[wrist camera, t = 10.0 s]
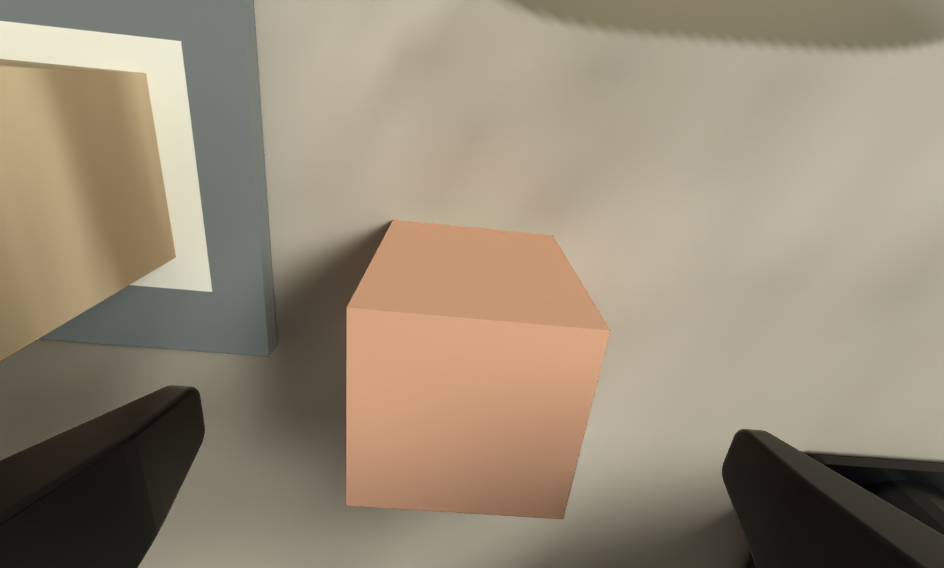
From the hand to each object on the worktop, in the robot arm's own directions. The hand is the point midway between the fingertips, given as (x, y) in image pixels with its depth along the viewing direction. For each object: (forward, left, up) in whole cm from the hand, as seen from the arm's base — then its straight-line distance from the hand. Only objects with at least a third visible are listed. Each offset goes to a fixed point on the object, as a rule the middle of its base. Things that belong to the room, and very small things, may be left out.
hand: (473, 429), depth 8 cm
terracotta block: (0, 0, -5) cm, 5 cm away
